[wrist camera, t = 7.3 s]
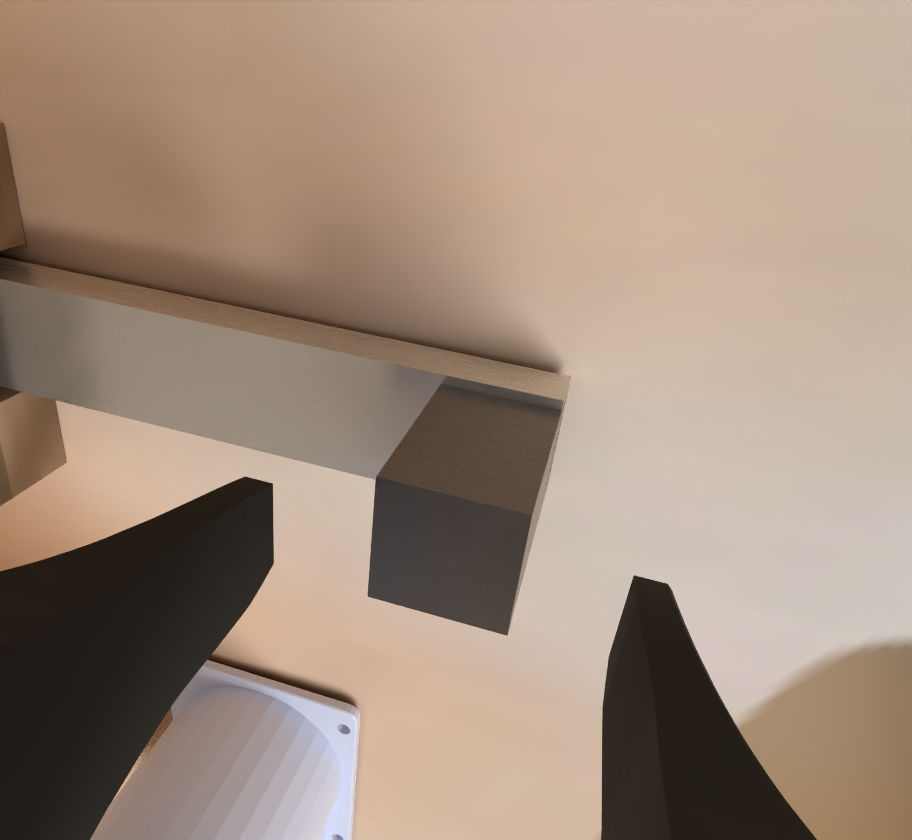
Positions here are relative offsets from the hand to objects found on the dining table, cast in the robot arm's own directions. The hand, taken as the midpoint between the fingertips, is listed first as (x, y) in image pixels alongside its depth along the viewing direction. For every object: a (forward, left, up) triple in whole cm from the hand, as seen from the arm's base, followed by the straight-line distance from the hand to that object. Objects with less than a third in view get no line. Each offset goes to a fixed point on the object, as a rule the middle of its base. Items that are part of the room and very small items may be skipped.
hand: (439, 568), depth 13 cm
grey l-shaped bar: (0, +10, -6) cm, 12 cm away
